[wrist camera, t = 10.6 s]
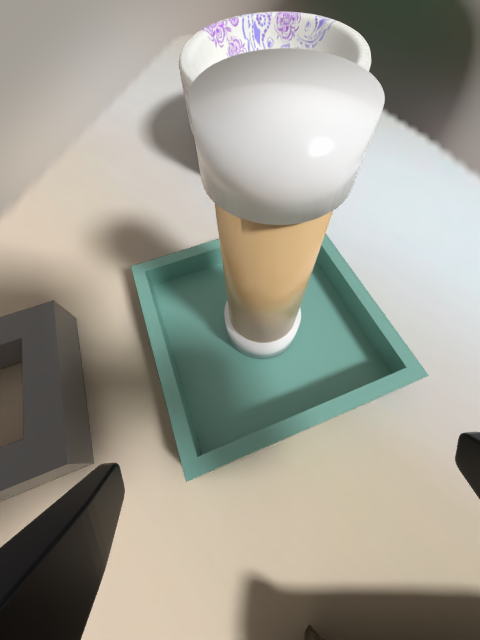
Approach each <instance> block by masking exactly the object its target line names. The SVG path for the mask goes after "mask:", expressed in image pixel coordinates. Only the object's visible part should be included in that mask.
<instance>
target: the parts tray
mask: <svg viewBox="0 0 480 640" xmlns="http://www.w3.org/2000/svg"><path fill="white" fill-rule="evenodd" d="M131 268H132V272H133V276H134V280H135V284H136V288H137V292H138V296H139V300H140V304H141V307H142V311H143V315H144V319H145V323H146V327H147V331H148V335H149V339H150V343H151V347H152V350H153V354H154V358H155V362H156V366H157V370H158V374H159V378H160V382H161V386H162V390H163V393H164V397H165V401H166V405H167V409H168V413H169V417H170V421H171V425H172V429H173V433H174V436H175V440H176V444H177V448H178V452H179V456H180V460H181V464H182V468H183V472H184V476H185V479H186V482H187V481H189V480H192V479H194V478H197V477H199V476H201V475H204V474H206V473H208V472H211V471H213V470H215V469H217V468H220V467H222V466H224V465H227V464H229V463H231V462H233V461H236V460H238V459H240V458H242V457H245V456H247V455H249V454H252V453H254V452H256V451H258V450H261V449H263V448H265V447H268V446H270V445H272V444H274V443H277V442H279V441H281V440H284V439H286V438H288V437H290V436H293V435H295V434H297V433H300V432H302V431H304V430H306V429H309V428H311V427H313V426H316V425H318V424H320V423H322V422H325V421H327V420H329V419H332V418H334V417H336V416H338V415H341V414H343V413H345V412H348V411H350V410H352V409H354V408H357V407H359V406H361V405H363V404H366V403H368V402H370V401H373V400H375V399H377V398H379V397H382V396H384V395H386V394H389V393H391V392H393V391H395V390H398V389H400V388H402V387H405V386H407V385H409V384H411V383H413V382H416V381H418V380H420V379H422V378H424V377H427V376H429V375H428V374H427V372H426V371H425V370H424V368H423V367H422V366H421V364H420V363H419V361H418V360H417V359H416V357H415V356H414V355H413V353H412V352H411V350H410V349H409V348H408V346H407V345H406V344H405V342H404V341H403V339H402V338H401V337H400V335H399V334H398V333H397V331H396V330H395V328H394V327H393V326H392V324H391V323H390V321H389V320H388V319H387V317H386V316H385V315H384V313H383V312H382V310H381V309H380V308H379V306H378V305H377V304H376V302H375V301H374V299H373V298H372V297H371V295H370V294H369V293H368V291H367V290H366V288H365V287H364V286H363V284H362V283H361V282H360V280H359V279H358V277H357V276H356V275H355V273H354V272H353V270H352V269H351V268H350V266H349V265H348V264H347V262H346V261H345V259H344V258H343V257H342V255H341V254H340V253H339V251H338V250H337V248H336V247H335V246H334V244H333V243H332V242H331V240H330V239H329V237H328V236H327V235H326V233H325V236H324V238H323V241H322V244H321V247H320V250H319V253H318V256H317V259H316V262H315V265H314V268H313V270H312V273H311V276H310V279H309V282H308V285H307V288H306V291H305V294H304V297H303V300H302V302H301V305H300V309H301V321H300V324H299V327H298V330H297V332H296V335H295V338H294V340H293V342H292V344H291V345H290V347H289V348H288V349H287V350H286V351H285V352H283V353H282V354H280V355H279V356H276V357H274V358H270V359H254V358H250V357H247V356H245V355H243V354H242V353H240V352H239V351H238V350H237V349H235V347H234V346H233V345H232V344H231V342H230V340H229V338H228V334H227V329H226V323H225V317H224V310H225V305H226V302H227V294H226V286H225V278H224V271H223V263H222V255H221V248H220V240H219V239H217V240H214V241H210V242H207V243H204V244H201V245H198V246H194V247H191V248H188V249H185V250H182V251H179V252H175V253H172V254H169V255H166V256H163V257H159V258H156V259H153V260H150V261H147V262H143V263H140V264H137V265H134V266H131Z"/></svg>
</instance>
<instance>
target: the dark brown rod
mask: <svg viewBox="0 0 480 640" xmlns="http://www.w3.org/2000/svg"><path fill="white" fill-rule="evenodd" d="M305 640H323V639H322V638H321V637H320V636H319V635H318V634H317V632H316V631H315V630H314V629H313V628H312V627H311V626H310V625H309V626H308V628H307V629H306V631H305Z"/></svg>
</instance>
